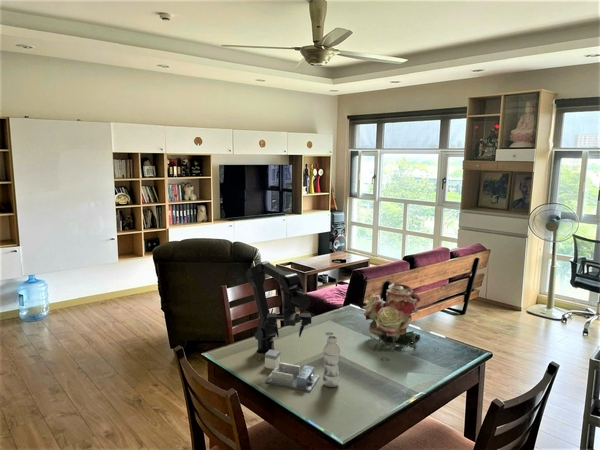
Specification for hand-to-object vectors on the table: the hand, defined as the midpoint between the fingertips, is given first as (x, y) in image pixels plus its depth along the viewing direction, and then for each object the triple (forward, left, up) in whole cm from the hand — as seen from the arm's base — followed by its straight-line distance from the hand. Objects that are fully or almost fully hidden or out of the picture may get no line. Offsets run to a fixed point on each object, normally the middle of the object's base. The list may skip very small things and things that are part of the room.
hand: (288, 337), depth 189 cm
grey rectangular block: (-6, -4, -13) cm, 14 cm away
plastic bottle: (+22, -10, -13) cm, 27 cm away
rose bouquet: (+38, +38, -13) cm, 56 cm away
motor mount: (+6, -12, -12) cm, 18 cm away
